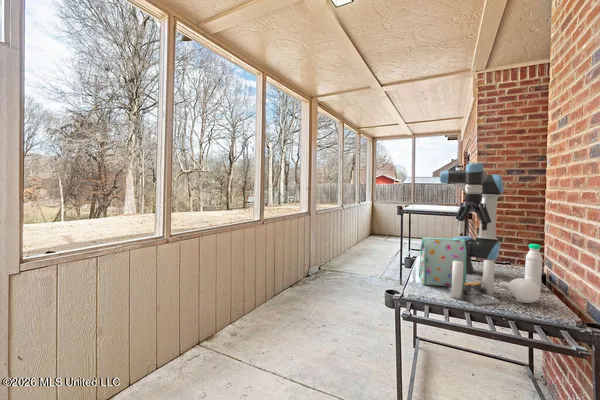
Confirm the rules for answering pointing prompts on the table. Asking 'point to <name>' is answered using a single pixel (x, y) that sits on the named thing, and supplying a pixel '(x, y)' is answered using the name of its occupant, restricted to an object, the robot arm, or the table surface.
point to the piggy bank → (523, 290)
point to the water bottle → (534, 265)
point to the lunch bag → (441, 260)
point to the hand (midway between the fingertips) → (471, 234)
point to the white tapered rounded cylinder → (457, 280)
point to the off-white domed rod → (488, 276)
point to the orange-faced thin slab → (476, 287)
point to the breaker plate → (478, 297)
